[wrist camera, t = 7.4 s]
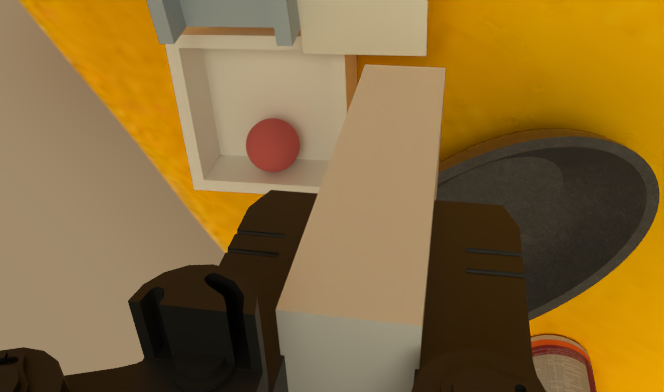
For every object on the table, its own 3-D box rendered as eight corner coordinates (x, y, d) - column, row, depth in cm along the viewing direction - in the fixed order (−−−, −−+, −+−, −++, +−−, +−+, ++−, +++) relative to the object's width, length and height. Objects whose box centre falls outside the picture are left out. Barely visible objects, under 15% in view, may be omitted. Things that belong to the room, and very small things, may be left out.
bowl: (675, 184, 40) (705, 243, 35) (403, 319, 50) (394, 379, 45) (571, 37, 36) (587, 79, 31) (301, 216, 47) (280, 269, 42)
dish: (189, 13, 39) (163, 34, 36) (355, 14, 37) (343, 36, 34) (214, 160, 45) (194, 189, 42) (359, 167, 43) (350, 199, 40)
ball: (247, 106, 41) (234, 146, 39) (300, 107, 40) (289, 149, 38) (258, 142, 44) (246, 181, 41) (307, 144, 43) (298, 184, 41)
